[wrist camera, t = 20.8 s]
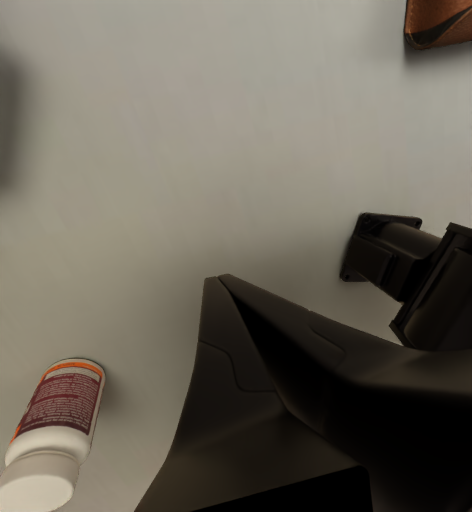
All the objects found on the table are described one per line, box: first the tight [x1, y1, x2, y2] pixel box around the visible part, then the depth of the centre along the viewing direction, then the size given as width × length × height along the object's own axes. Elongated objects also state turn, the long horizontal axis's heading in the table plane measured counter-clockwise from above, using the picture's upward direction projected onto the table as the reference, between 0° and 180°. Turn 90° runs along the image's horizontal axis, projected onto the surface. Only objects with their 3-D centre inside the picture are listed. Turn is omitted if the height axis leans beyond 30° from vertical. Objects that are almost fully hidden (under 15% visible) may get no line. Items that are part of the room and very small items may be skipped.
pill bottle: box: [0, 359, 105, 512], centre depth 19 cm, size 5×5×8 cm
